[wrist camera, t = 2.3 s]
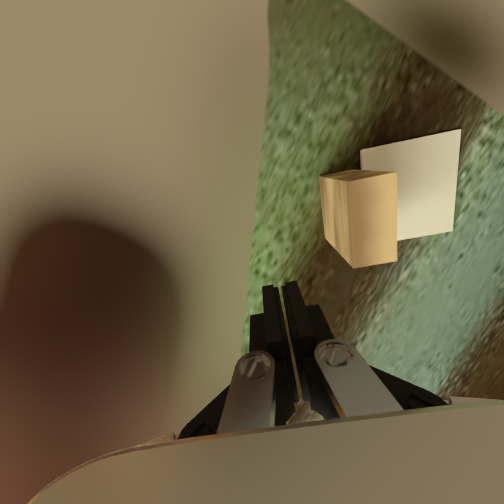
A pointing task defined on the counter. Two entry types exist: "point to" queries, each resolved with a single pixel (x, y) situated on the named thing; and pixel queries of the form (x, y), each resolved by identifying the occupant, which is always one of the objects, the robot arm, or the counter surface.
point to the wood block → (361, 215)
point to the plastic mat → (420, 181)
